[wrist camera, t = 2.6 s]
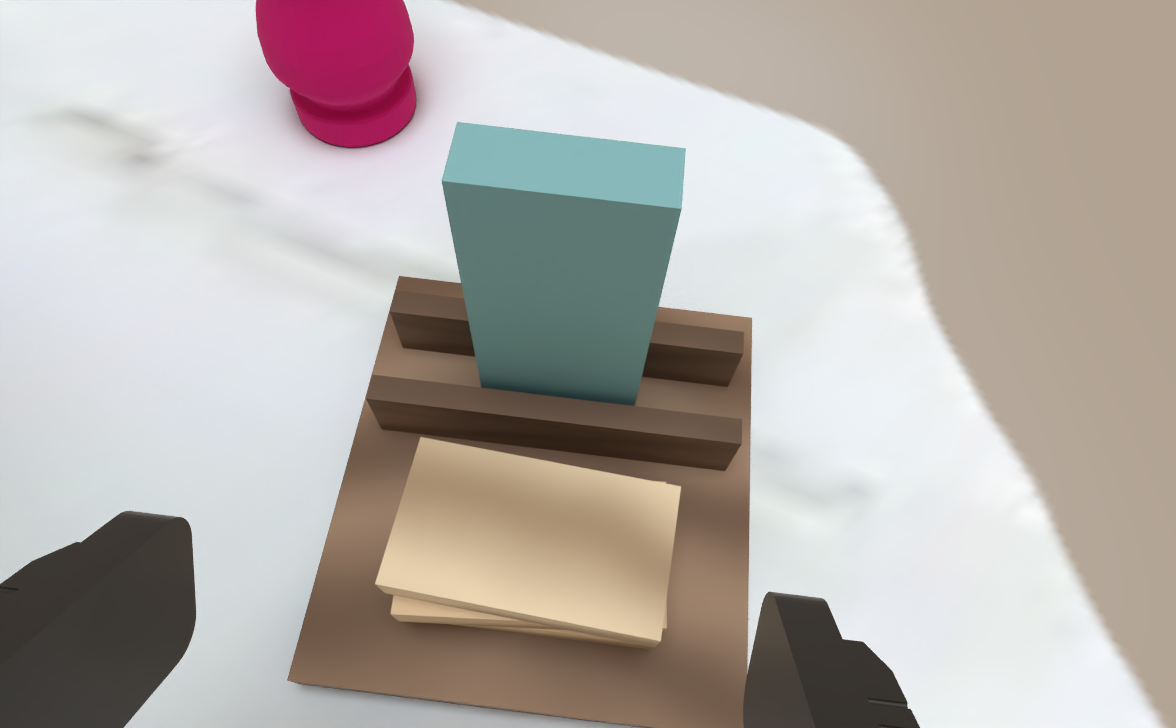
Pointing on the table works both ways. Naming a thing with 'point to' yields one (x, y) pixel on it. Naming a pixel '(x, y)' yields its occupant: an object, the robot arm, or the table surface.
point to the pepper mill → (342, 65)
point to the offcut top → (533, 541)
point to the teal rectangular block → (561, 256)
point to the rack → (567, 436)
